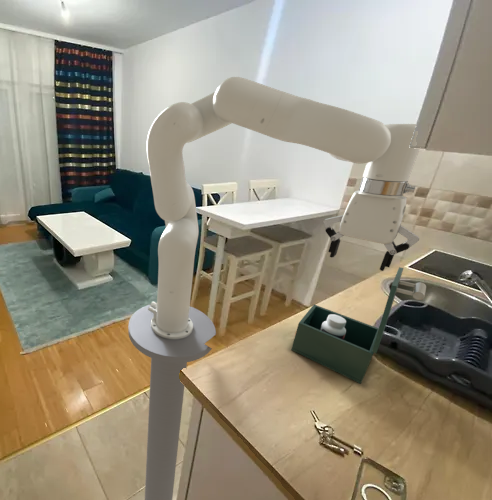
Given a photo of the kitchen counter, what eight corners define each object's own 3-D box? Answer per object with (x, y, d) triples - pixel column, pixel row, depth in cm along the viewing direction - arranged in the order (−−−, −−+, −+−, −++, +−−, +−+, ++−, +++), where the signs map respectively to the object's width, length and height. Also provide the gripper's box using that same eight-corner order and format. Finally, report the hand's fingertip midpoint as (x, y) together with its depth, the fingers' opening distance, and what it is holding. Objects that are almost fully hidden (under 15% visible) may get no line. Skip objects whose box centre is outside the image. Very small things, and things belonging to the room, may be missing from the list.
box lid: (391, 285, 58) (427, 293, 55) (399, 267, 67) (430, 273, 63) (371, 351, 64) (402, 363, 60) (380, 327, 72) (408, 336, 69)
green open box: (291, 349, 77) (298, 322, 74) (306, 329, 85) (314, 304, 82) (360, 384, 67) (373, 354, 64) (370, 357, 75) (382, 329, 72)
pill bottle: (342, 358, 74) (353, 326, 70) (318, 354, 75) (329, 323, 71) (334, 344, 79) (344, 314, 75) (312, 340, 80) (321, 311, 76)
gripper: (438, 192, 57) (406, 269, 64) (338, 181, 69) (320, 247, 75) (437, 197, 52) (402, 280, 59) (329, 184, 64) (310, 255, 70)
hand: (356, 262), depth 67 cm, fingers open, 9 cm apart
